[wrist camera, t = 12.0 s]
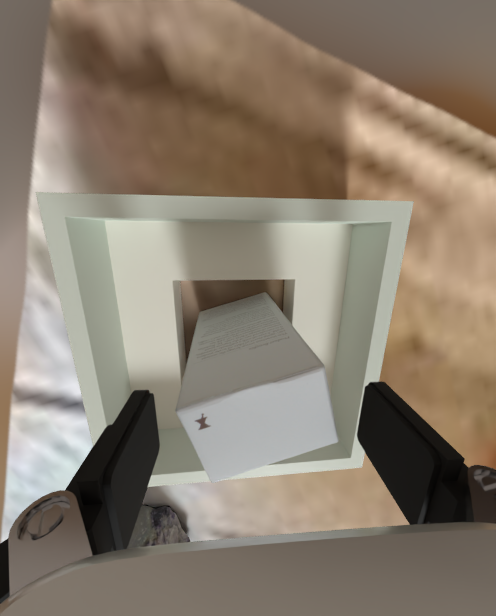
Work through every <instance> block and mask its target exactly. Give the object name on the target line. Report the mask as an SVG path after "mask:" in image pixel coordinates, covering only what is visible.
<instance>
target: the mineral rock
mask: <svg viewBox="0 0 496 616" xmlns="http://www.w3.org/2000/svg"><path fill="white" fill-rule="evenodd" d="M185 542H190V540H189V537H188V536H187V535H186V533H185V532H184V531H183V529H182V528H181V525H180V522H179V520H178V517H177V515H176V513H174V512H173V511H171V509H170V507H167V506H163V507H159V508H156V509H154V508H152V507H149V506H141V508H140V511H139V514H138V518H137V521H136V524H135V527H134V530H133V533H132V536H131V539H130V542H129V545H128V547H127V549H130V548H137V547H147V546H156V545H166V544H176V543H185Z"/></svg>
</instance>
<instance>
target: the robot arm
mask: <svg viewBox="0 0 496 616" xmlns="http://www.w3.org/2000/svg"><path fill="white" fill-rule="evenodd" d="M357 438H358V441H359V443H360V445H361V446H362V448H363V450H364V451H365V453H366V454H367V456H368V458H369V459H370V461H371V462H372V464H373V466H374V467H375V469H376V471H377V472H378V474H379V475H380V477H381V479H382V480H383V482H384V483H385V485H386V487H387V488H388V490H389V492H390V493H391V495H392V496H393V498H394V500H395V501H396V503H397V504H398V506H399V508H400V509H401V511H402V512H403V514H404V516H405V517H406V519H407V521H408V522H409V523H410V525H401V526H387V527H373V528H359V529H345V530H332V531H319V532H306V533H293V534H281V535H268V536H256V537H244V538H232V539H220V540H209V541H197V542H185V543H176V544H166V545H156V546H147V547H137V548H130V549H127V547H128V545H129V542H130V539H131V536H132V533H133V530H134V527H135V524H136V521H137V518H138V514H139V511H140V508H141V505H142V502H143V499H144V496H145V493H146V490H147V487H148V484H149V481H150V478H151V475H152V472H153V469H154V466H155V463H156V459H157V456H158V453H159V448H160V441H159V433H158V425H157V416H156V408H155V400H154V394H153V393H150V392H149V390H134V391H133V392H132V394H131V395H130V397H129V399H128V400H127V402H126V403H125V405H124V407H123V408H122V410H121V411H120V413H119V415H118V416H117V418H116V420H115V421H114V423H113V424H112V425H108V426H107V427H106V428H105V429H104V431H103V432H102V434H101V435H100V437H99V439H98V440H97V442H96V443H95V445H94V446H93V448H92V449H91V451H90V453H89V454H88V456H87V457H86V459H85V460H84V462H83V463H82V465H81V467H80V468H79V470H78V471H77V473H76V474H75V476H74V477H73V479H72V480H71V482H70V484H69V485H68V487H67V488H66V490H65V491H61V490H60V491H56V492H52V493H50V494H47V495H45V496H43V497H41V498H40V499H38V500H37V501H35V502H33V503H32V504H31V505H30V506H29V507H27V508H26V509H25V510H24V511H23V512H22V513H21V514H20V515H19V517H18V518H17V519H16V520H15V522H14V524H13V526H12V527H11V529H10V533H9V538H8V539H7V540H5V541H4V542H2V543H1V544H0V616H496V470H495V469H493V468H490V467H486V466H481V465H474V466H471V467H469V468H468V467H467V466H466V465H465V464H464V463H463V462H464V458H463V457H462V456H461V455H460V454H459V453H458V452H457V451H456V450H455V449H454V448H453V447H452V446H451V445H450V444H449V443H448V442H447V441H446V440H444V439H443V438H442V437H441V436H440V435H439V434H438V433H437V432H436V431H435V430H434V429H433V428H432V427H431V426H430V425H429V424H428V423H427V422H426V421H425V420H424V419H422V418H421V417H420V416H419V415H418V414H417V413H416V412H415V411H414V410H413V409H412V408H411V407H410V406H409V405H408V404H407V403H406V402H405V401H404V400H403V399H402V398H401V397H399V396H398V395H397V394H396V393H395V392H394V391H393V390H392V389H391V388H390V387H389V386H388V385H387V384H386V383H385V382H370V383H369V384H368V385H367V386H365V389H364V395H363V401H362V407H361V413H360V419H359V425H358V431H357Z"/></svg>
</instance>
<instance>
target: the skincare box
mask: <svg viewBox="0 0 496 616" xmlns="http://www.w3.org/2000/svg"><path fill="white" fill-rule="evenodd" d="M175 412H176V414H177V416H178V418H179V420H180V421H181V423H182V425H183V427H184V429H185V431H186V433H187V435H188V437H189V439H190V441H191V443H192V445H193V447H194V449H195V451H196V453H197V455H198V457H199V459H200V461H201V463H202V465H203V468H204V470H205V472H206V473H207V475H208V477H209V479H210V481H211V483H215V482H218V481H221V480H224V479H227V478H229V477H232V476H235V475H238V474H241V473H244V472H247V471H250V470H253V469H256V468H259V467H262V466H265V465H268V464H272V463H275V462H278V461H281V460H284V459H287V458H290V457H293V456H296V455H300V454H303V453H306V452H309V451H312V450H315V449H318V448H321V447H324V446H327V445H330V444H334V443H337V442H338V434H337V429H336V423H335V418H334V412H333V407H332V402H331V396H330V391H329V386H328V381H327V375H326V370H325V366H324V364H323V363H322V361H321V360H320V359H319V358H318V357H317V355H316V354H315V353H314V352H313V351H312V349H311V348H310V347H309V346H308V345H307V343H306V342H305V341H304V340H303V338H302V337H301V336H300V334H299V333H298V332H297V331H296V329H295V328H294V327H293V326H292V324H291V323H290V322H289V320H288V319H287V318H286V317H285V315H284V314H283V313H282V311H281V310H280V309H279V308H278V306H277V305H276V304H275V302H274V301H273V300H272V299H271V297H270V296H269V295H268V294H267V293H266V292H263V293H260V294H257V295H254V296H250V297H247V298H244V299H240V300H237V301H234V302H231V303H227V304H224V305H221V306H218V307H214V308H211V309H208V310H204V311H201V312H199V316H198V320H197V324H196V328H195V332H194V336H193V340H192V344H191V348H190V353H189V357H188V361H187V365H186V369H185V373H184V377H183V382H182V386H181V390H180V394H179V398H178V402H177V405H176V410H175Z"/></svg>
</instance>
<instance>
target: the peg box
mask: <svg viewBox="0 0 496 616" xmlns="http://www.w3.org/2000/svg"><path fill="white" fill-rule="evenodd" d="M36 196H37V201H38V205H39V209H40V214H41V218H42V223H43V227H44V231H45V236H46V240H47V245H48V249H49V253H50V258H51V262H52V267H53V271H54V275H55V280H56V284H57V289H58V293H59V298H60V302H61V306H62V311H63V315H64V320H65V324H66V328H67V333H68V337H69V342H70V346H71V350H72V355H73V359H74V364H75V368H76V372H77V377H78V381H79V386H80V390H81V394H82V399H83V403H84V408H85V412H86V416H87V421H88V425H89V430H90V434H91V438H92V443H93V446H94V445H95V443H96V442H97V440H98V439H99V437H100V435H101V434H102V432H103V431H104V429H105V428H106V427H107V426H108V425H112V424H113V423H114V421H115V420H116V418H117V416H118V415H119V413H120V411H121V410H122V408H123V407H124V405H125V403H126V402H127V400H128V399H129V397H130V395H131V394H132V392H133V391H134V390H149V392H150V393H153V394H154V400H155V408H156V416H157V425H158V433H159V441H160V448H159V453H158V456H157V459H156V463H155V466H154V469H153V472H152V475H151V478H150V481H149V484H148V487H153V486H164V485H175V484H186V483H197V482H208V481H210V479H209V477H208V475H207V473H206V472H205V470H204V468H203V465H202V463H201V461H200V459H199V457H198V455H197V453H196V451H195V449H194V447H193V445H192V443H191V441H190V439H189V437H188V435H187V433H186V431H185V429H184V427H183V425H182V423H181V421H180V420H179V418H178V416H177V414H176V412H175V410H176V405H177V402H178V398H179V394H180V390H181V386H182V382H183V377H184V373H185V369H186V352H185V338H184V325H183V311H182V297H181V284H180V280H277V279H285V281H284V299H283V314H284V315H285V317H286V318H287V319H288V320H289V322H290V323H291V324H292V326H293V327H294V328H295V329H296V331H297V332H298V333H299V334H300V336H301V337H302V338H303V340H304V341H305V342H306V343H307V345H308V346H309V347H310V348H311V349H312V351H313V352H314V353H315V354H316V355H317V357H318V358H319V359H320V360H321V361H322V363H323V364H324V366H325V370H326V375H327V381H328V386H329V391H330V396H331V402H332V407H333V412H334V418H335V423H336V429H337V434H338V442H337V443H334V444H330V445H327V446H324V447H321V448H318V449H315V450H312V451H309V452H306V453H303V454H300V455H296V456H293V457H290V458H287V459H284V460H281V461H278V462H275V463H272V464H268V465H265V466H262V467H259V468H256V469H253V470H250V471H247V472H244V473H241V474H238V475H235V476H232V477H229V478H227V479H224V480H230V479H241V478H252V477H263V476H274V475H285V474H296V473H307V472H318V471H329V470H340V469H351V468H361V467H362V465H363V460H364V454H365V451H364V450H363V448H362V446H361V445H360V443H359V441H358V438H357V431H358V425H359V419H360V413H361V407H362V401H363V395H364V389H365V386H367V385H368V384H369V383H370V382H379V377H380V372H381V367H382V362H383V357H384V352H385V346H386V341H387V336H388V331H389V326H390V321H391V315H392V310H393V305H394V300H395V295H396V290H397V285H398V279H399V274H400V269H401V264H402V259H403V254H404V249H405V243H406V238H407V233H408V228H409V223H410V218H411V212H412V207H413V202H414V201H376V200H334V199H293V198H251V197H210V196H168V195H127V194H86V193H44V192H36Z"/></svg>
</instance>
